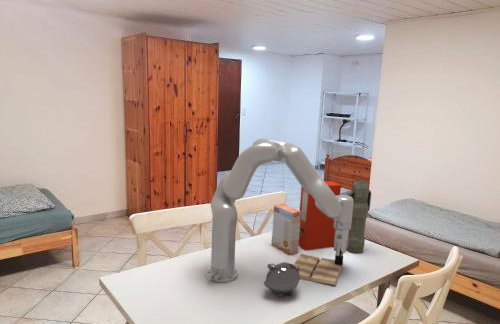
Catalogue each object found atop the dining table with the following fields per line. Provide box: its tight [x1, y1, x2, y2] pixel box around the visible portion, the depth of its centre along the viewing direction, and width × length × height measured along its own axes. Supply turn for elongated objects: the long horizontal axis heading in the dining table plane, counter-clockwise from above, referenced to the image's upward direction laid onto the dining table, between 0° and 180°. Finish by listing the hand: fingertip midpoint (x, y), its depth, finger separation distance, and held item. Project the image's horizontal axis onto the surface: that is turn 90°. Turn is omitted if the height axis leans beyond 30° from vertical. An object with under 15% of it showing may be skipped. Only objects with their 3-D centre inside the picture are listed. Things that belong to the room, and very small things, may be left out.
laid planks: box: [293, 253, 321, 282], centre depth 158 cm, size 20×9×2 cm, turn 157°
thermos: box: [346, 179, 372, 255], centre depth 176 cm, size 9×12×35 cm
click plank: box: [311, 257, 344, 286], centre depth 154 cm, size 20×10×2 cm, turn 157°
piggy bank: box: [263, 262, 301, 299], centre depth 137 cm, size 11×15×12 cm
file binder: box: [298, 180, 342, 252], centre depth 179 cm, size 8×17×32 cm, turn 111°
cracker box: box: [271, 203, 301, 256], centre depth 175 cm, size 14×6×21 cm, turn 33°
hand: (338, 264), depth 159 cm, fingers closed
